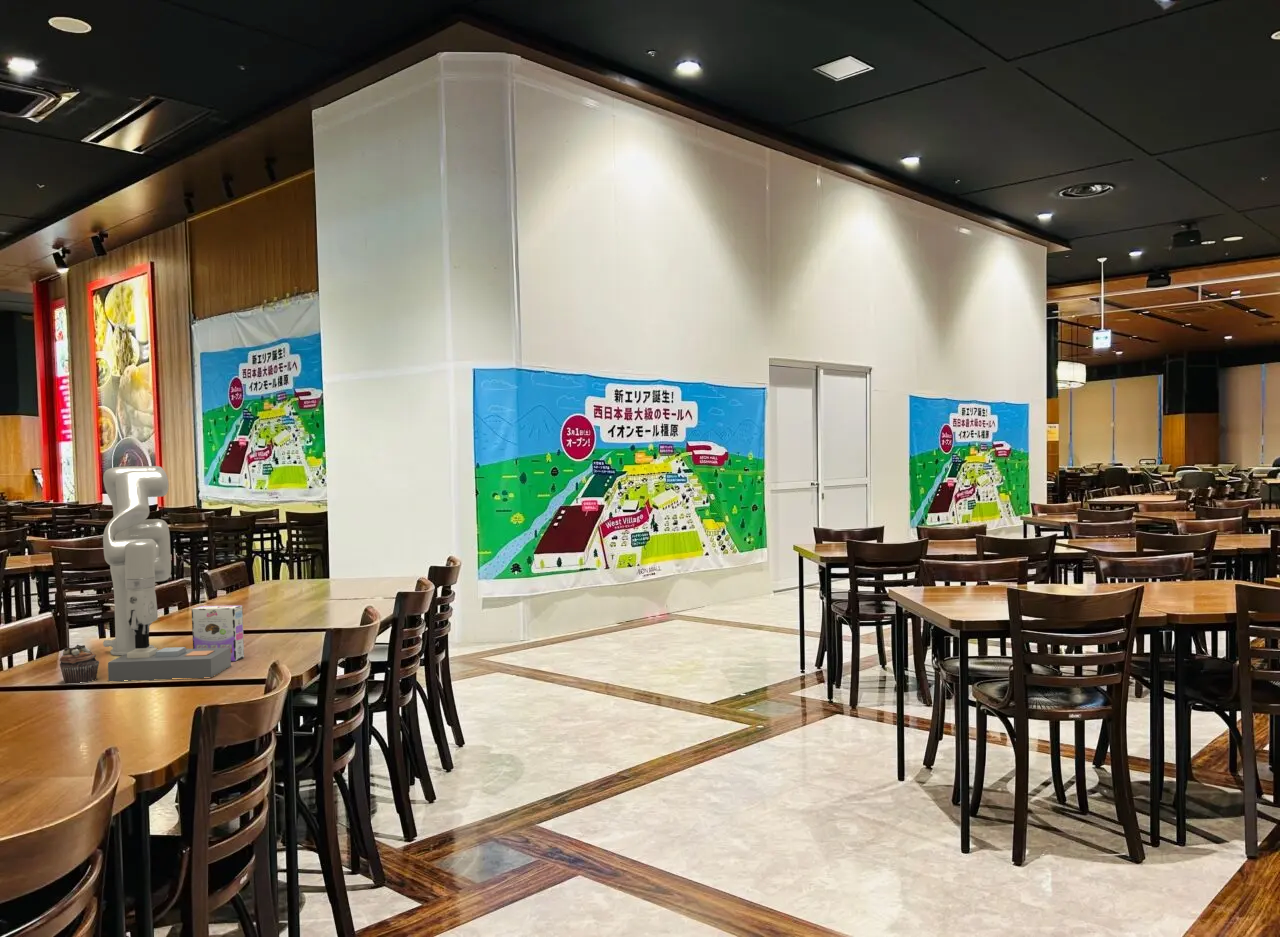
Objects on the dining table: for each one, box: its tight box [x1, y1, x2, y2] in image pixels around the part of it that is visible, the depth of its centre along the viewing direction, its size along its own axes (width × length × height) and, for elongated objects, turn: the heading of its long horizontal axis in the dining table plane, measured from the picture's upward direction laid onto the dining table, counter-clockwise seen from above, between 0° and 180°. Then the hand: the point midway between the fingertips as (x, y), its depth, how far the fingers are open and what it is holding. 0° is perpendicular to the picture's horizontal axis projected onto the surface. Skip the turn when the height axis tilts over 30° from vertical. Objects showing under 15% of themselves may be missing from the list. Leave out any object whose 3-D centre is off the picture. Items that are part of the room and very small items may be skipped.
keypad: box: [107, 647, 232, 682], centre depth 281 cm, size 28×16×6 cm, turn 94°
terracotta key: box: [185, 651, 214, 656], centre depth 282 cm, size 6×6×4 cm
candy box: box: [190, 605, 245, 662], centre depth 300 cm, size 14×6×16 cm, turn 84°
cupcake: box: [59, 644, 100, 684], centre depth 275 cm, size 10×10×10 cm
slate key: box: [156, 646, 187, 657], centre depth 281 cm, size 6×6×4 cm
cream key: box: [127, 647, 159, 658], centre depth 281 cm, size 6×6×4 cm
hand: (142, 647), depth 281 cm, fingers closed
